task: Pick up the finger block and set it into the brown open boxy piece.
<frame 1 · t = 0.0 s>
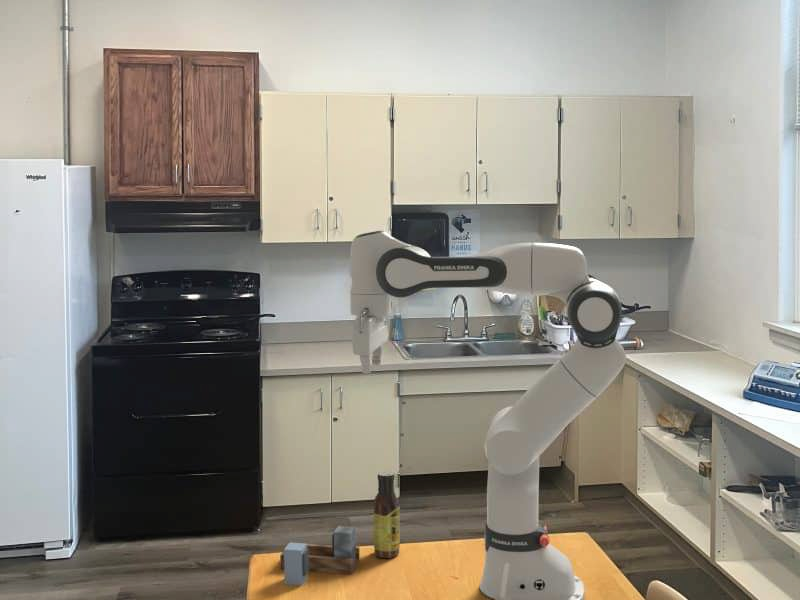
hand: (371, 368, 192), 48 cm above the table, tool pointing down, fingers open, 8 cm apart
finger block: (296, 580, 196), on the table
brown open boxy piece: (320, 565, 205), on the table
sauce bottle: (387, 554, 211), on the table
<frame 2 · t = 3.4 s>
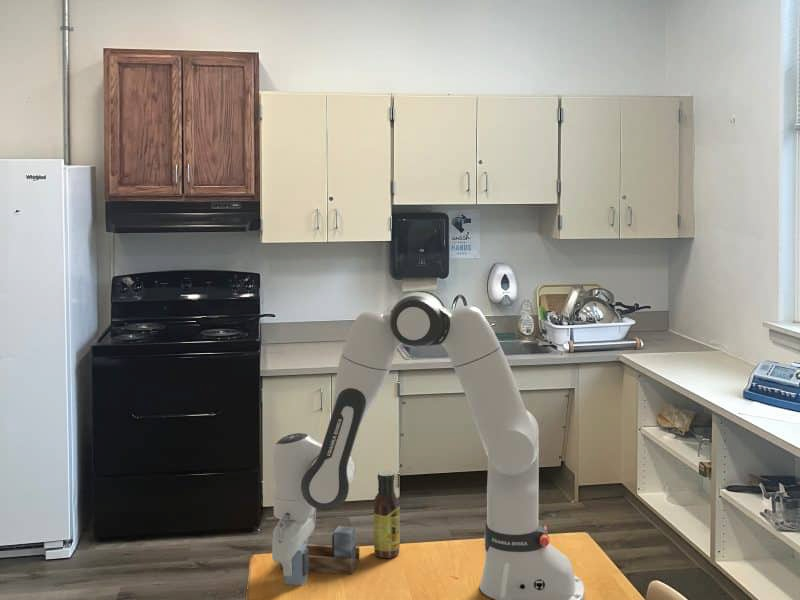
hand: (294, 566, 196), 3 cm above the table, tool pointing down, fingers open, 8 cm apart
nothing on the table moved.
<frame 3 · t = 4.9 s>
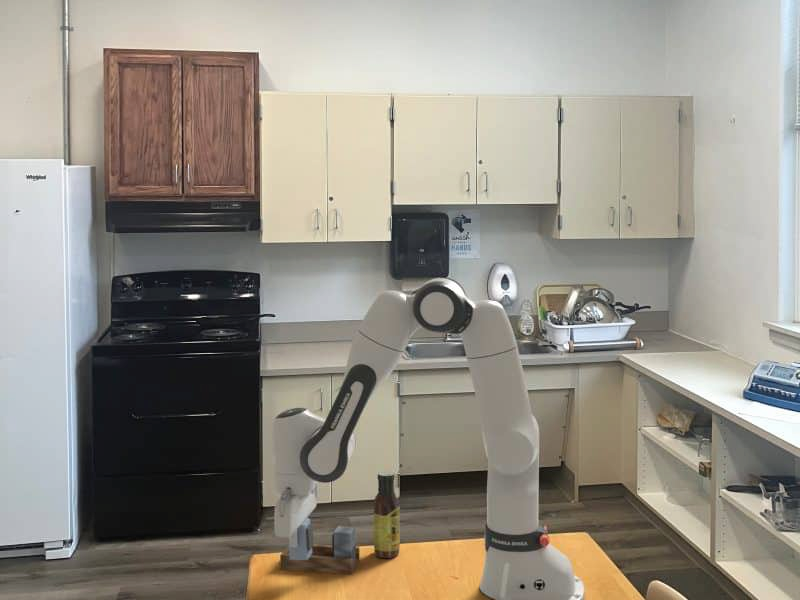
hand: (298, 541, 195), 9 cm above the table, tool pointing down, fingers closed on finger block, 4 cm apart
finger block: (301, 556, 195), point 6 cm above the table, touching gripper
everything else where it was.
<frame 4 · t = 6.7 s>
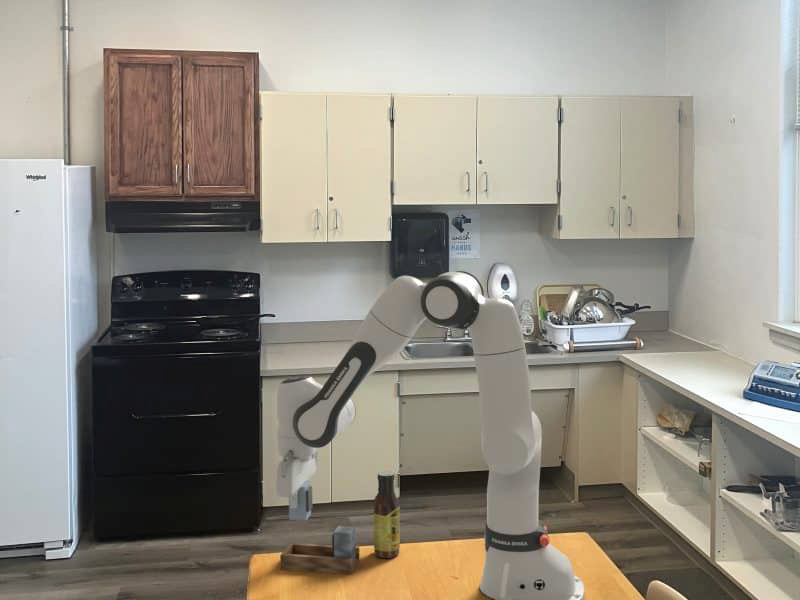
hand: (298, 503, 204), 15 cm above the table, tool pointing down, fingers closed on finger block, 4 cm apart
finger block: (300, 517, 204), point 11 cm above the table, touching gripper
everything else where it was.
when the fingers open (5 cm above the table, at t = 8.6 s): finger block stays where it is, resting on brown open boxy piece.
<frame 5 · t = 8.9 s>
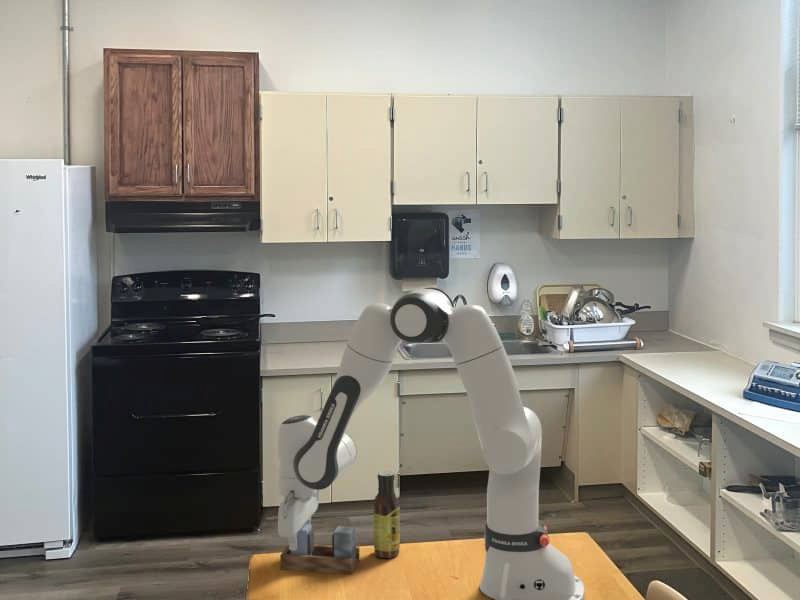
hand: (299, 542, 205), 5 cm above the table, tool pointing down, fingers open, 7 cm apart
finger block: (301, 559, 205), point 1 cm above the table, touching brown open boxy piece
everything else where it was.
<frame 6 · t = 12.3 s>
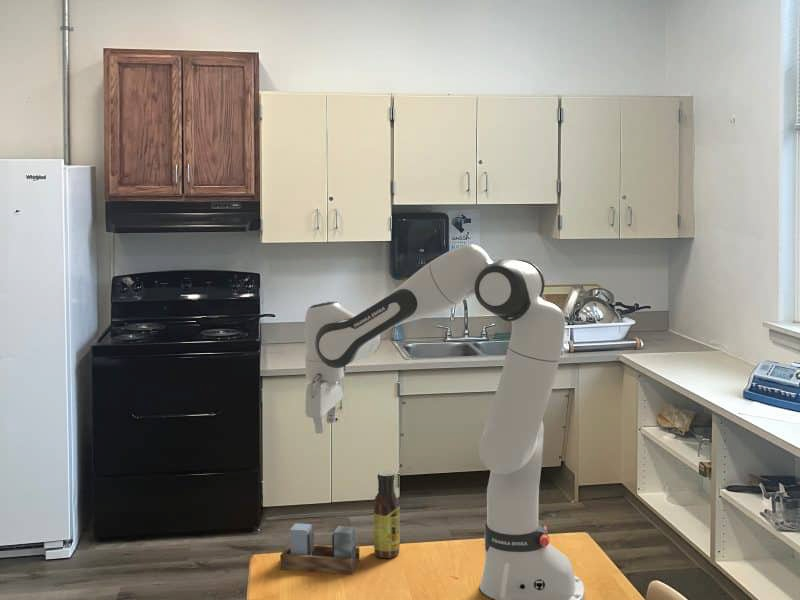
hand: (325, 427, 208), 31 cm above the table, tool pointing down, fingers open, 8 cm apart
nothing on the table moved.
at the end: finger block 0.5 cm from the target spot on the brown open boxy piece, point 1.0 cm above the brown open boxy piece's base; finger block tilted 0°; the gripper is holding nothing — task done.
